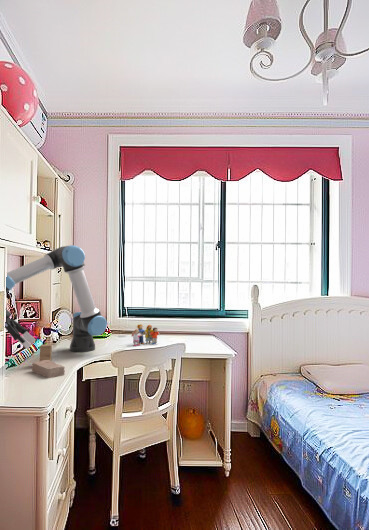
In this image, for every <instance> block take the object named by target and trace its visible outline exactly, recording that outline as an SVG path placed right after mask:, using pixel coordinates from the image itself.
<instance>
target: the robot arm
mask: <svg viewBox="0 0 369 530" xmlns="http://www.w3.org/2000/svg"><path fill="white" fill-rule="evenodd" d="M85 259H86V254H85V252H84V250H83V249H82V248H81V247H80V246H77V245H72V244H70V245H65V246H64V245H63V246H59V247H58V248H55V249H54V250H52V251H50V252H48V253H46V254H44V256H43V257H40V258H38V259H36V260H33V261H31V262H28V263H27V264H23V265H22V266H19V267H17V268H15V269H13V270H10V271H8V272H6V273H7V277H6V294H7V293H8V292H9V291H10V290H12V289H13V288H14V287H15V286H16V285H17V284H19V283H22V282H23V281H26V280H29V279H31V278H32V277H35V276H37V275H39V274H41V273H42V274H43V273H44V272H46V271H49V270H51V271H53V270H55V269H57V268H61V267H63V271H64V273H65V274H68V278H69V280H70V283H71V286H72V289H73V291H74V295H75V298H76V300H77V303H78V306H79V308H80V311H78V312H73V318H72V319H73V320H72V338H71V341H70V345H69V351H71V352H78V353H79V352H80V353H84V352H91V351H94V350H95V351H96V343H95V340H94V338H93V337H95V336H96V337H97V336H101V335H103V334H104V332H105V331H106V329H107V326H108V322H107V319H106V317H104V316H102V314H101V310H100V309H99V308H97V307H96V304H95V301H94V297H93V295H92V292H91V289H90V286H89V283H88V280H87V277H86V274H85V271H84V268H85V267H86V264H85ZM5 310H6V322H5V327H4V329H6V331H7V332H8V333H9V335H10V336H12V338H13V341H15V342H16V341H18V342H19V343H20V345H22V346H23V347H25V349H26V350H28V349H29V348H30V347H31V346H32V345H33V343H34V342H35V341H36V340H37V339H36V338H35V337H34V336H33V335H31V334H30V333H29V332H28V328H25V327H24V326H23V325H21V324H20V323H19V322H17V320H15V319H14V318H10V317H12V313H11V312H10V311H9V310H8V309H5Z"/></svg>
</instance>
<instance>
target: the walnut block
mask: <svg viewBox="0 0 369 530" xmlns="http://www.w3.org/2000/svg"><path fill="white" fill-rule="evenodd" d="M52 347H53V345H52V343H51V344H41V345H40V346H39V361H43V360H50V361H52Z"/></svg>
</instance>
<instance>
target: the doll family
mask: <svg viewBox="0 0 369 530" xmlns="http://www.w3.org/2000/svg"><path fill="white" fill-rule="evenodd" d="M152 327H153V326H152V325H151V324H147V326H146V329H143V324H137V326H136V328H135V329H134V331H132V332H131V337H132V339H133V341H132V342H133V347H138V346H141V345H140V344H143V345H145V344H146V343H151V345H156V344H155V343H158V336H160V335H161V334H160V332H159V331H158V327H153V328H152ZM144 335H145V336H144ZM144 338H145V340H144Z"/></svg>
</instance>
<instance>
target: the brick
mask: <svg viewBox="0 0 369 530" xmlns="http://www.w3.org/2000/svg"><path fill="white" fill-rule="evenodd" d="M31 371H32V372H33V373H34V374H38V375H40V376H43V377H46V378H50V379H51V378H55V377H61V376H64V375H66V374H65V373H66V370H65V366H64V365H62V364H60V363H59V364H58V363H55V362H54V361H52V360H51V361H50V360H43V361H40V360H39V361H35V362H32V365H31Z"/></svg>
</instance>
